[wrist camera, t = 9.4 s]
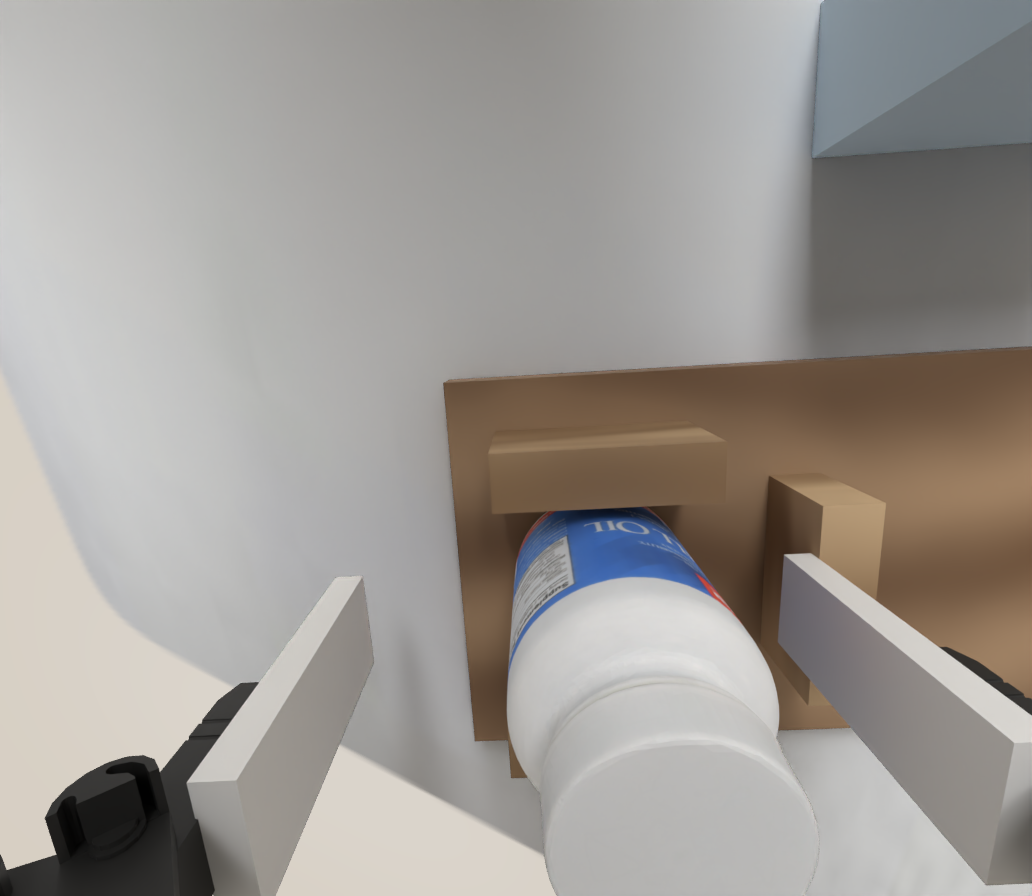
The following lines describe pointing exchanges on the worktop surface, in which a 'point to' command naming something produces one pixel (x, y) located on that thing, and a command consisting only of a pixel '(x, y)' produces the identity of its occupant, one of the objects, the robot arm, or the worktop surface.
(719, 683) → the pill bottle
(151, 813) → the robot arm
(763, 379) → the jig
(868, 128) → the block
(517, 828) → the worktop surface
